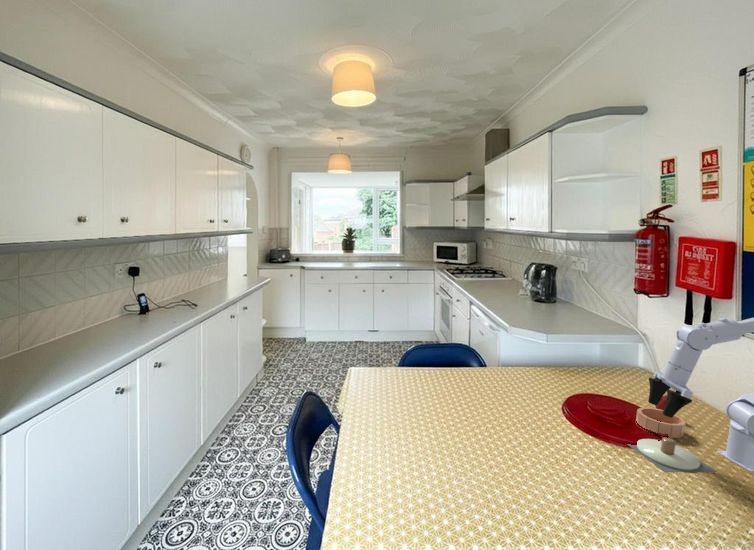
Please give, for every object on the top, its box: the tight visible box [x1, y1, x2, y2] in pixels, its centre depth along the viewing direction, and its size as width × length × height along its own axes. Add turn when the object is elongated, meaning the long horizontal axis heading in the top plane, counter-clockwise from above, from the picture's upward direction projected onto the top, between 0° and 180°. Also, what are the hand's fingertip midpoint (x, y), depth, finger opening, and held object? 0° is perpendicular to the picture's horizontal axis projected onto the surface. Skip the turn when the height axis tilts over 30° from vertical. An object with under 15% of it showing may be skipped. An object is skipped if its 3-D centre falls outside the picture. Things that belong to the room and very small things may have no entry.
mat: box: [626, 444, 718, 473], centre depth 106 cm, size 15×15×1 cm
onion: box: [654, 393, 667, 410], centre depth 132 cm, size 6×6×8 cm
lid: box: [636, 436, 700, 470], centre depth 106 cm, size 14×14×4 cm
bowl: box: [635, 406, 686, 439], centre depth 122 cm, size 12×12×4 cm
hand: (659, 409), depth 110 cm, fingers open, 7 cm apart
